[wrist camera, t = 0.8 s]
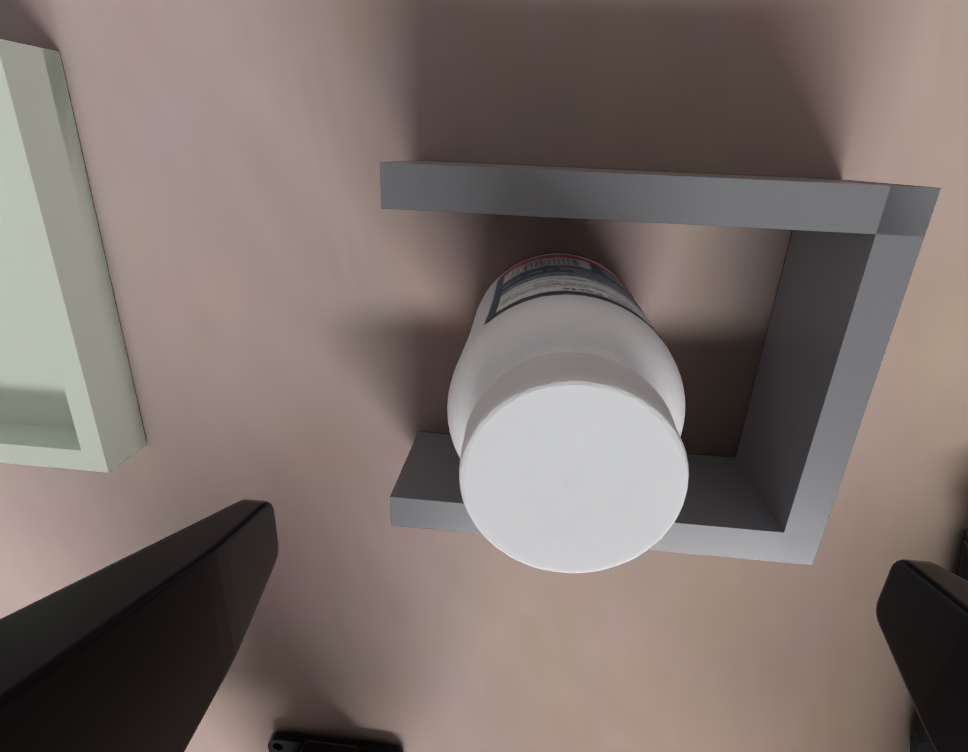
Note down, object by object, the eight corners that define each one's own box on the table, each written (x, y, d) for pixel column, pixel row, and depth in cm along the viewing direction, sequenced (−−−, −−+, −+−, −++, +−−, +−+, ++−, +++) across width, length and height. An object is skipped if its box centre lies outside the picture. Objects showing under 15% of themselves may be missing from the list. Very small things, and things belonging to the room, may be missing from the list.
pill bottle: (572, 433, 19) (596, 647, 11) (444, 352, 18) (367, 514, 10) (674, 311, 17) (799, 459, 9) (536, 215, 16) (532, 278, 8)
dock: (759, 485, 19) (812, 565, 15) (418, 456, 20) (391, 525, 16) (842, 179, 15) (940, 187, 11) (416, 160, 16) (379, 162, 12)
